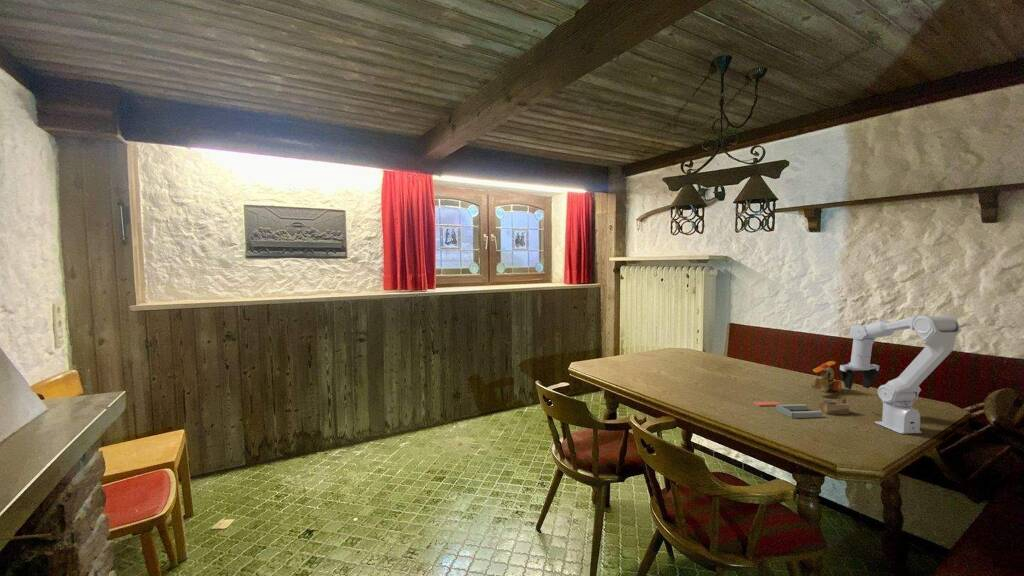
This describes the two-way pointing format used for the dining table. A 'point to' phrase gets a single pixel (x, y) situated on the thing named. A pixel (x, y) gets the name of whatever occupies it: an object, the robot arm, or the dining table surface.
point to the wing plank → (767, 403)
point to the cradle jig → (802, 414)
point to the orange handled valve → (825, 378)
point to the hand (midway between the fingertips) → (856, 387)
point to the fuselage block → (834, 407)
